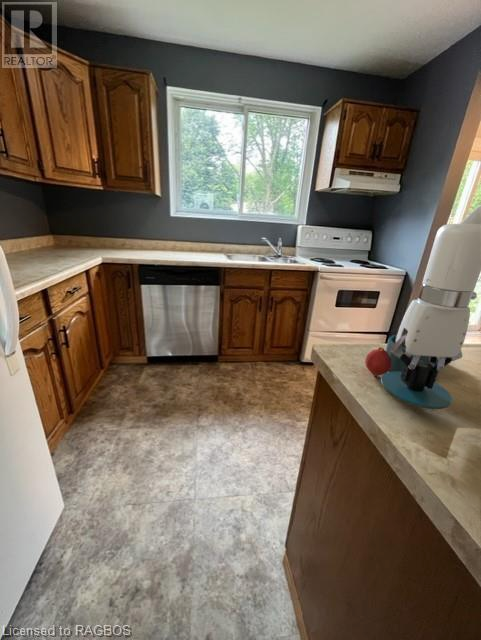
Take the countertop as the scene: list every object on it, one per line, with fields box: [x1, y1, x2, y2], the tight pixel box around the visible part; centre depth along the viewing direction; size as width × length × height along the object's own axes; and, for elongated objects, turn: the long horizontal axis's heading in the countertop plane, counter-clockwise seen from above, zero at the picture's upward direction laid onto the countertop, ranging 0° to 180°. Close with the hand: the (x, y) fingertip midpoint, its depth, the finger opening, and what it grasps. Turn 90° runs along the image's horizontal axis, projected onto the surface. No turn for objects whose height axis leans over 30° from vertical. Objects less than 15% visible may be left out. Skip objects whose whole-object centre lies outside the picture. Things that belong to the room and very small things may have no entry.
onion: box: [364, 346, 392, 377], centre depth 67 cm, size 6×6×8 cm
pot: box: [385, 334, 429, 372], centre depth 70 cm, size 11×11×8 cm
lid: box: [380, 360, 453, 410], centre depth 54 cm, size 12×12×7 cm
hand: (415, 383), depth 55 cm, fingers closed on lid, 3 cm apart
